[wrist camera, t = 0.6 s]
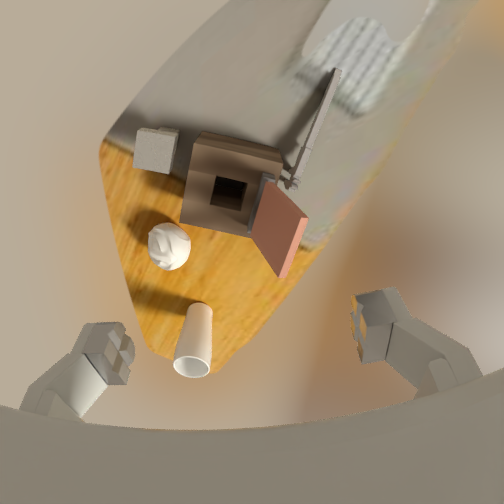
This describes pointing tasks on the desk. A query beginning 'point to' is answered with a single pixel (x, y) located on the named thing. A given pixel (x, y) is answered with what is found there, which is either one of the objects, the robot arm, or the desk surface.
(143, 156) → the steel peg
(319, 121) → the caliper
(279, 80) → the desk surface
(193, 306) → the drinking glass
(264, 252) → the panel
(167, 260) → the white ridged ball
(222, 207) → the block
